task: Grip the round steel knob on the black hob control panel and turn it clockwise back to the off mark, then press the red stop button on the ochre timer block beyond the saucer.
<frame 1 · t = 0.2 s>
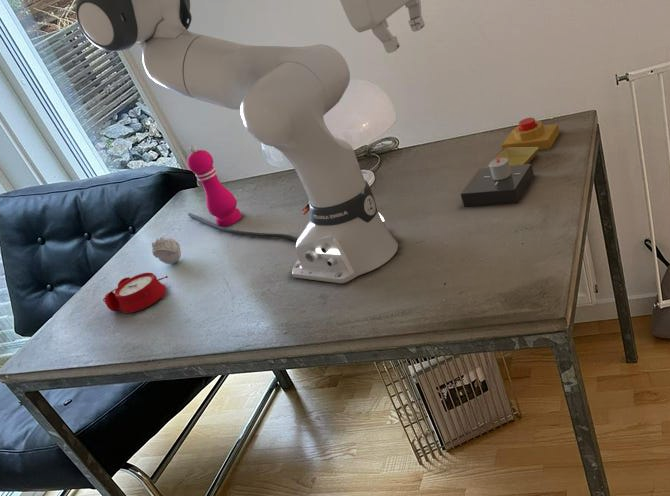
hand: (406, 39, 116), 39 cm above the table, tool pointing down, fingers open, 8 cm apart
saucer: (515, 165, 163), on the table
stop button: (527, 124, 167), point 4 cm above the table, slide at 0.1 cm
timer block: (531, 143, 170), on the table
knob: (500, 168, 152), point 5 cm above the table, hinge at 120.0°
alarm clock: (138, 301, 164), on the table
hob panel: (499, 191, 155), on the table
white lumpy rounded piece: (174, 263, 175), on the table
pepper mill: (230, 221, 186), on the table
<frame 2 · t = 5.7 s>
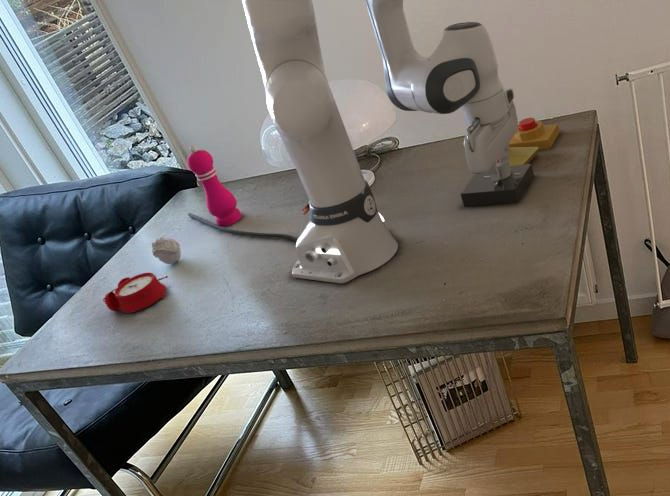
hand: (501, 173, 153), 4 cm above the table, tool pointing down, fingers closed on knob, 4 cm apart
knob: (500, 168, 152), point 5 cm above the table, hinge at 120.0°, touching gripper
everything else where it was.
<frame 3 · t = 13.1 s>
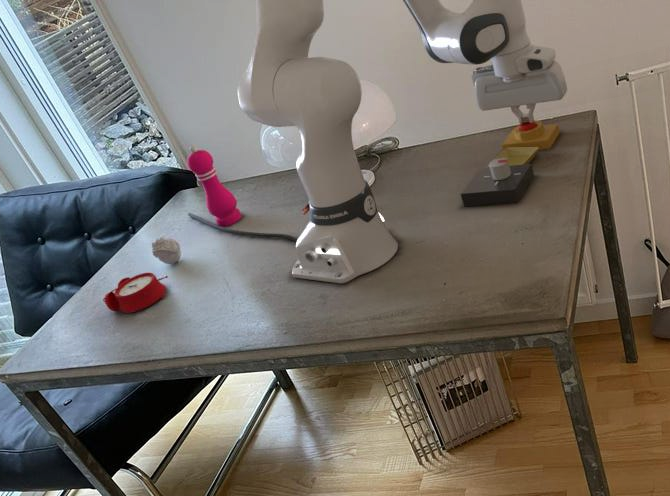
hand: (527, 122, 167), 5 cm above the table, tool pointing down, fingers closed, pressing on stop button
stop button: (528, 127, 168), point 4 cm above the table, slide at -0.4 cm, touching gripper
knob: (500, 168, 152), point 5 cm above the table, hinge at 2.0°
everything else where it was.
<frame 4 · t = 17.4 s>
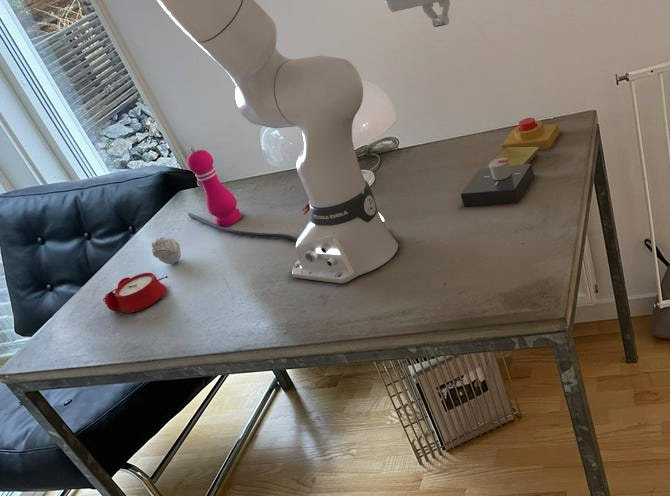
hand: (441, 25, 150), 31 cm above the table, tool pointing down, fingers closed
stop button: (527, 124, 167), point 4 cm above the table, slide at 0.1 cm
everything else where it was.
at the end: knob at +2° (first picture: +120°); stop button pushed in 1.0 cm at the most during the clip, back to where it started at the end; stop button slide at 0.1 cm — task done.
